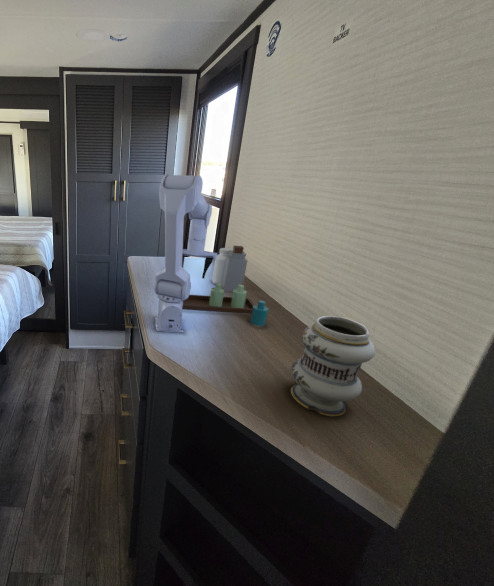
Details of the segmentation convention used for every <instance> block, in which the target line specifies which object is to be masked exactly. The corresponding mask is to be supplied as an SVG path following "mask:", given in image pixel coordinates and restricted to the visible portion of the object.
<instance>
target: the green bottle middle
mask: <svg viewBox="0 0 494 586" xmlns="http://www.w3.org/2000/svg"><path fill="white" fill-rule="evenodd" d="M221 286H222V284H219V283H216V284H214V287H211V289H210V294H209V296H210V300H209V306H216V307H222V302H223V297H225V296H224V295H225V290H224V289H223V288H222V287H221Z"/></svg>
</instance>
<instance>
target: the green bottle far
mask: <svg viewBox="0 0 494 586" xmlns="http://www.w3.org/2000/svg"><path fill="white" fill-rule="evenodd" d="M247 294H248V291H247V290H245V285H244V284H243V285H238V288H237V289H234V290H233V291H232V296H231V297H232V300H231V305H230V306H231V307H232V308H244V305H245V300H246V298H247Z"/></svg>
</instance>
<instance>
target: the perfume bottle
mask: <svg viewBox="0 0 494 586" xmlns="http://www.w3.org/2000/svg"><path fill="white" fill-rule="evenodd" d="M244 248H245V247H244V246H242V245H233V246H232V249H233V250H229V255H226V260H225V265H224V271H223V277H222V283H221V284H222V286H221V288H222V289H224V291H232V292H233V290H234V289H237V288H238V285H244V281H245V275H246V270H247V266H248V259H247V258H246V256H247V253H246V252H245V251H244V250H245V249H244Z"/></svg>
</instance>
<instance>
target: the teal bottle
mask: <svg viewBox="0 0 494 586" xmlns="http://www.w3.org/2000/svg"><path fill="white" fill-rule="evenodd" d="M268 313H269V307H268V306H266V301H265V300H258V302H257V304H254V306H253V309H252V314H250V319H249V323H250V324H252V325H254V326H257V327H263V326H265V325H266V323H267V319H268Z"/></svg>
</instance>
